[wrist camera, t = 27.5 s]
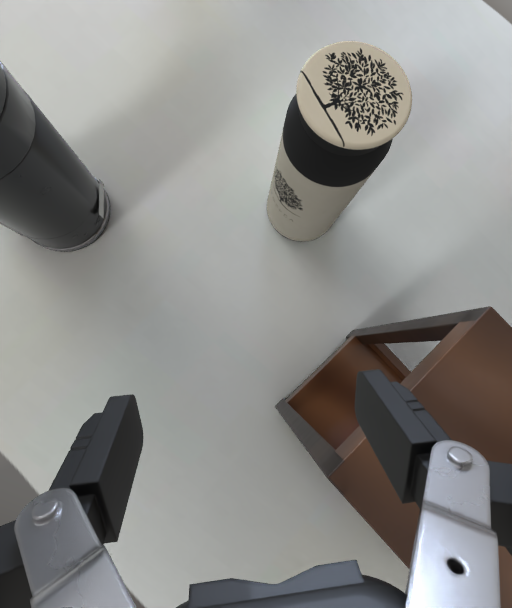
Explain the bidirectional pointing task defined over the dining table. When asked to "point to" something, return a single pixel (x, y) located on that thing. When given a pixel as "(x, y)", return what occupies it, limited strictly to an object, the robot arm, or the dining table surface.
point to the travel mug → (335, 135)
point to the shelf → (430, 393)
